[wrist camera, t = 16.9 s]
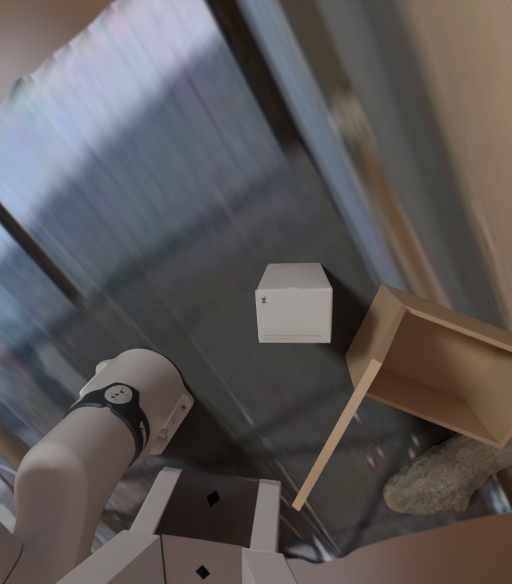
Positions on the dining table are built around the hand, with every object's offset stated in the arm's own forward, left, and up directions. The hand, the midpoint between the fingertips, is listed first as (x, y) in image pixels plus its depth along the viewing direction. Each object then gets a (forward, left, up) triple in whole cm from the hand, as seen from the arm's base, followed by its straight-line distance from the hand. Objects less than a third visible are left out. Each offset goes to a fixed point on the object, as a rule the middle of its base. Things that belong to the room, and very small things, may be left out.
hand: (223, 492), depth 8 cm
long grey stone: (-20, -41, -41) cm, 61 cm away
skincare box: (-4, -3, -41) cm, 41 cm away
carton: (-6, -25, -41) cm, 48 cm away
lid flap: (-6, -11, -21) cm, 24 cm away
